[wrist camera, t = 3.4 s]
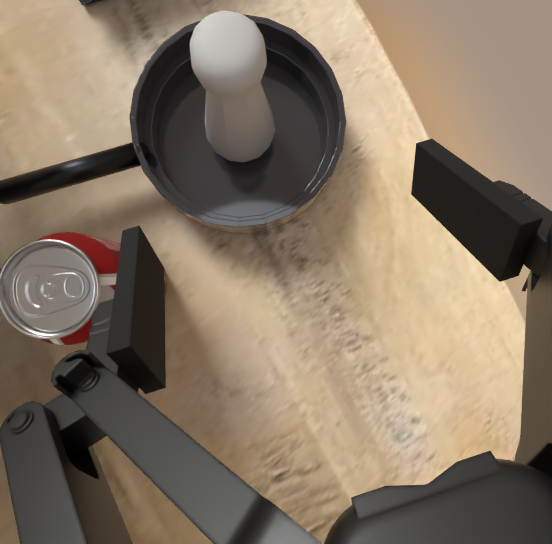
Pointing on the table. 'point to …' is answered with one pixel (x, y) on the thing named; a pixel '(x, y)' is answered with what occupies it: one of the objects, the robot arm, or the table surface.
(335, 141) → the pan
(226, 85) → the salt shaker
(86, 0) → the decorative book
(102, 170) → the pan handle
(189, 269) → the table surface
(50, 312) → the soda can
